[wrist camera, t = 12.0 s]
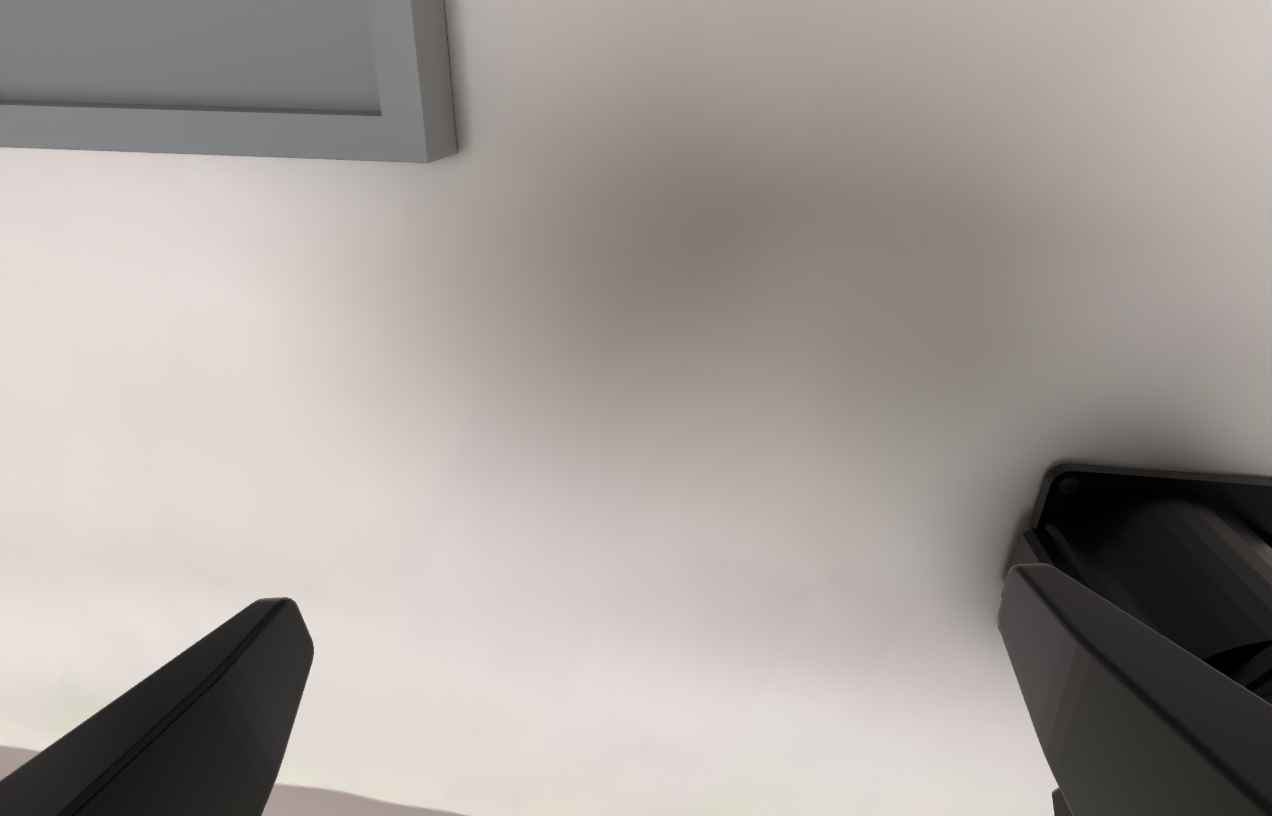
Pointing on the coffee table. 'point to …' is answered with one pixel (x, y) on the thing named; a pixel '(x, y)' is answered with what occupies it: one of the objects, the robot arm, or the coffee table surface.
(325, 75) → the tray
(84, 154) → the coffee table surface
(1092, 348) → the coffee table surface
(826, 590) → the coffee table surface
